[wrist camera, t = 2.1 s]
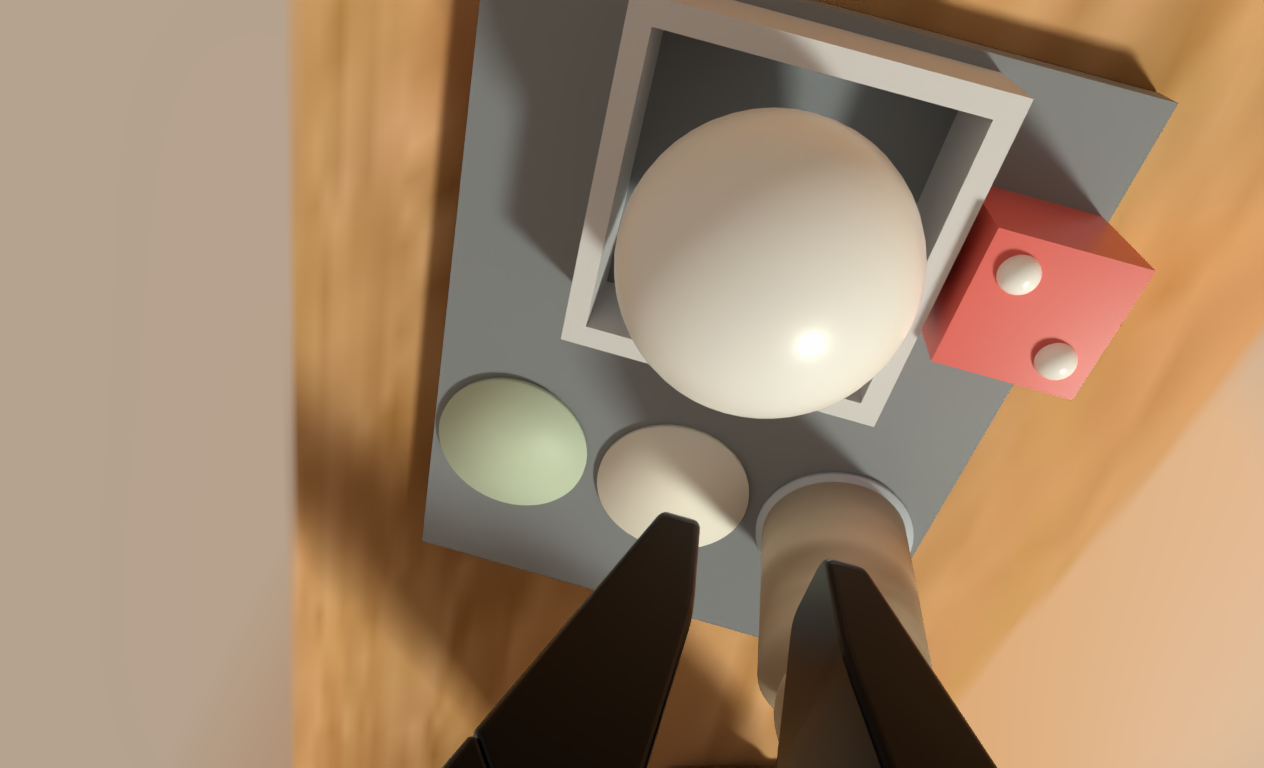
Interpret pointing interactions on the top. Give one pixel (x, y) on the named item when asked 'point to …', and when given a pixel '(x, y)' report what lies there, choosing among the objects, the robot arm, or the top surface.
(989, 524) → the top surface
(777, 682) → the pawn
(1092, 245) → the red die
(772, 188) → the white ball
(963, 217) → the game board
